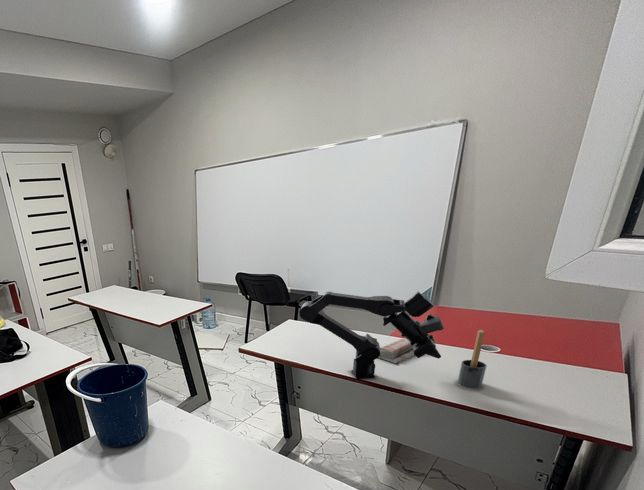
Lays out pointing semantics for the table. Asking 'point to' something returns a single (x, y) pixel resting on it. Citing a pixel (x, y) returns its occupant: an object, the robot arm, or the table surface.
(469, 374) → the grey cylinder
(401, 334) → the robot arm
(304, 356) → the table surface
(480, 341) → the wooden stick
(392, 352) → the packaged product
